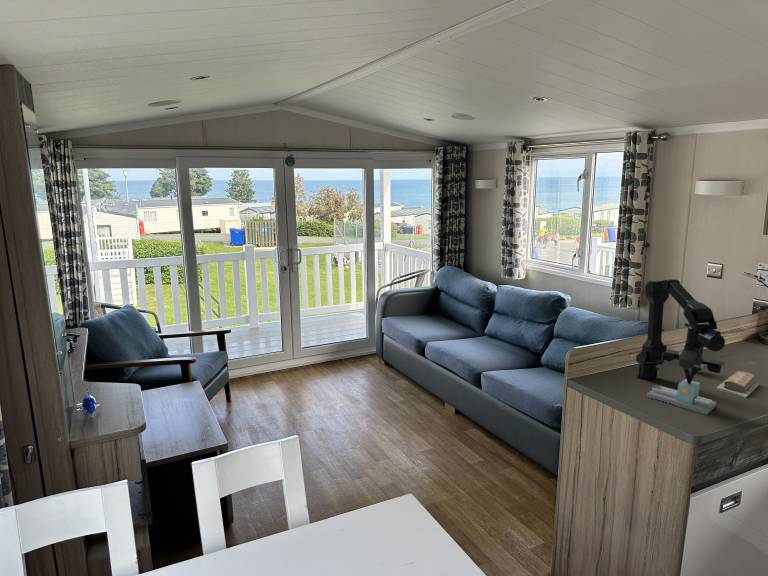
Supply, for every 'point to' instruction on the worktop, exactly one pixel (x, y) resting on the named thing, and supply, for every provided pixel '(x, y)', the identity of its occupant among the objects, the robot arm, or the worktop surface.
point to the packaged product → (739, 384)
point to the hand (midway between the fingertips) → (689, 383)
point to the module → (687, 391)
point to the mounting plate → (681, 404)
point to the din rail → (673, 393)
